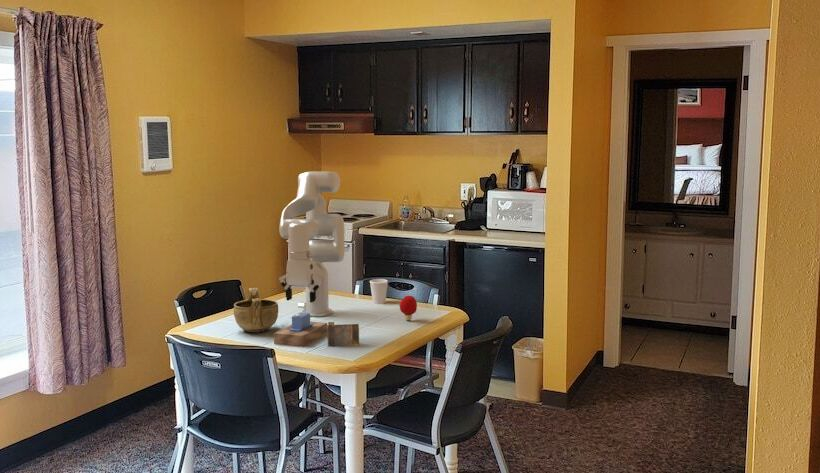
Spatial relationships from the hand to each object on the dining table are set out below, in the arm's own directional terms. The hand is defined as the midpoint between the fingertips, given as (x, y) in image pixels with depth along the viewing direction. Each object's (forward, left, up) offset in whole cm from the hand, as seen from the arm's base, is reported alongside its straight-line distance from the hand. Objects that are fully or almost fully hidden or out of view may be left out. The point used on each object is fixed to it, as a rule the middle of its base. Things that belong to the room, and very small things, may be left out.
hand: (300, 300), depth 293 cm
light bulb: (+29, +37, -15) cm, 50 cm away
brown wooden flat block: (0, -1, -14) cm, 14 cm away
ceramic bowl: (-22, +4, -15) cm, 27 cm away
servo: (0, -1, -13) cm, 13 cm away
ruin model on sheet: (+19, -4, -15) cm, 24 cm away
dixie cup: (+5, +65, -15) cm, 67 cm away
